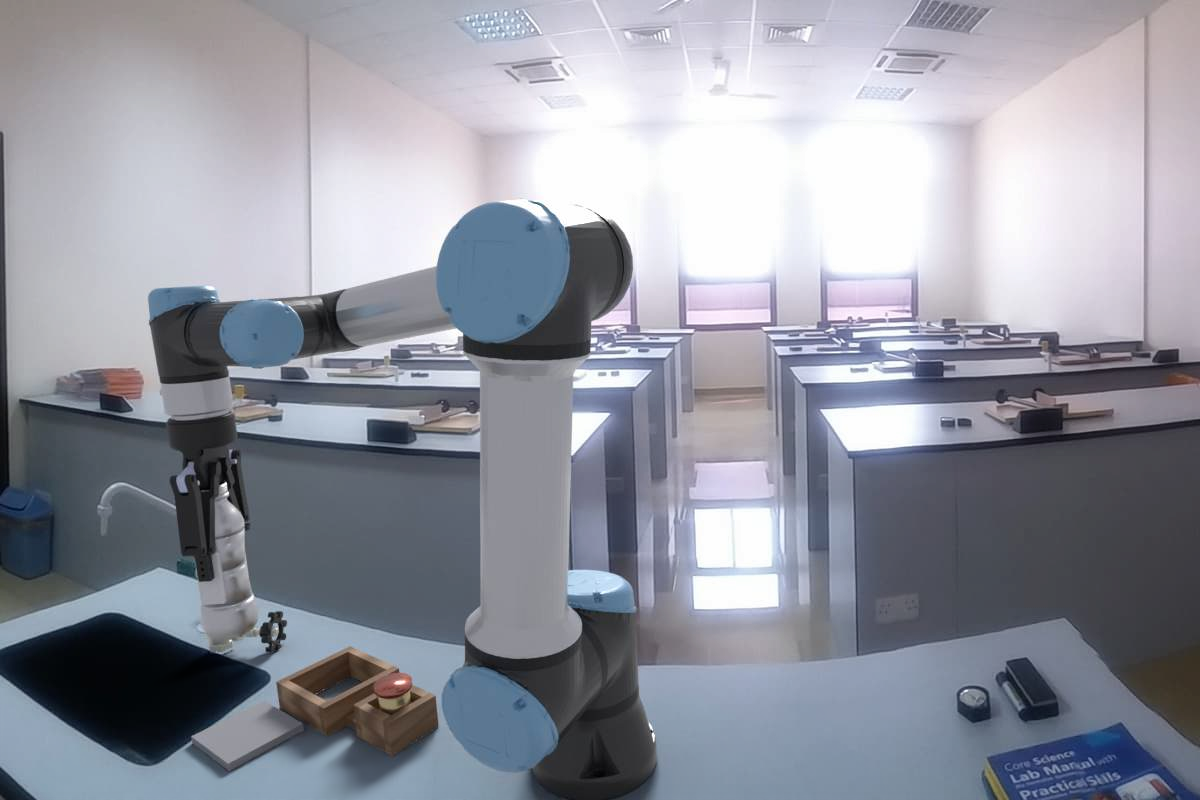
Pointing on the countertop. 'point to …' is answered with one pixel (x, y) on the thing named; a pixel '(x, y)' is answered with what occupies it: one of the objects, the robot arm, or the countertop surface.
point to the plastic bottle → (230, 575)
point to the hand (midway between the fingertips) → (226, 591)
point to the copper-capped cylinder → (393, 692)
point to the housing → (356, 701)
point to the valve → (265, 633)
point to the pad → (246, 734)
